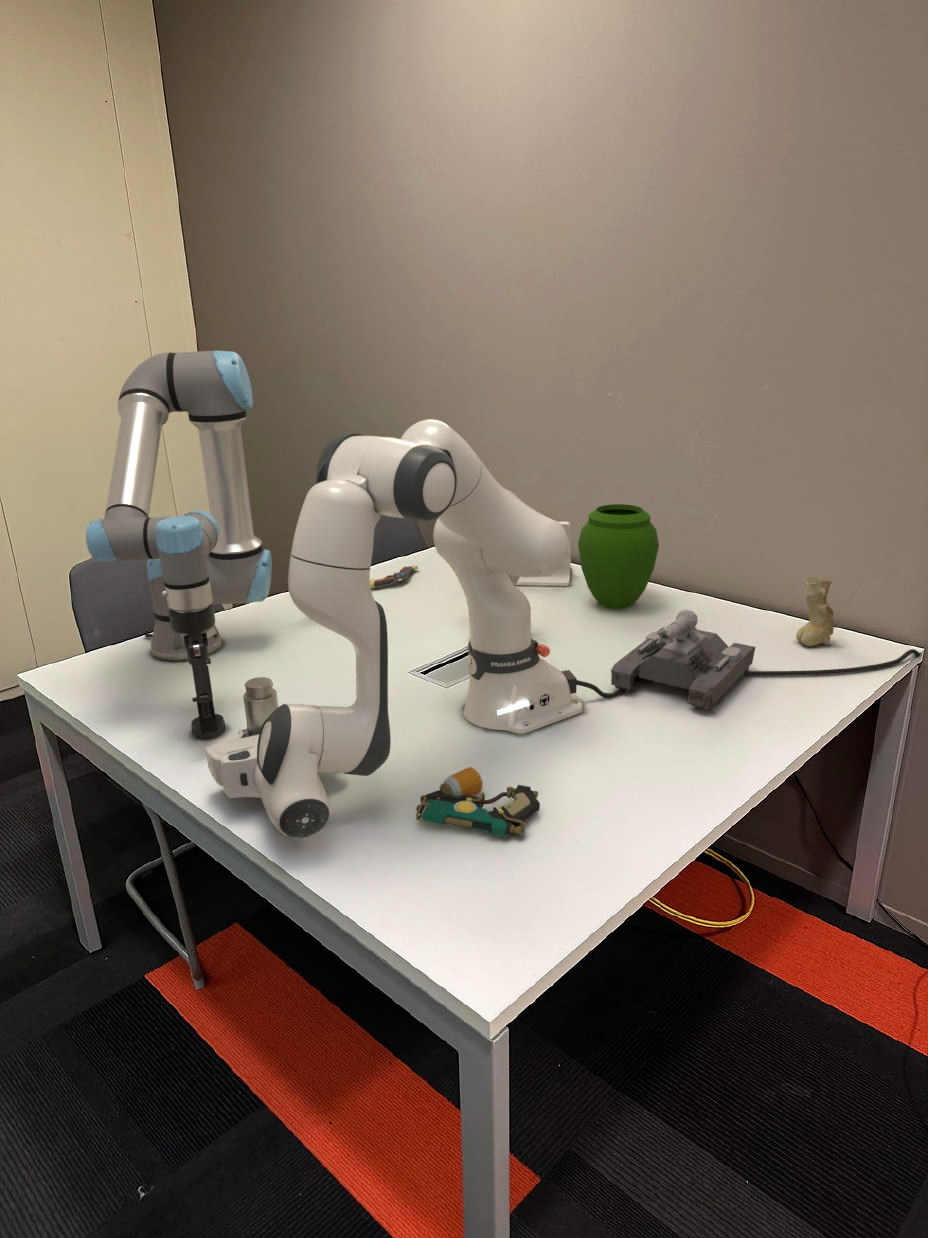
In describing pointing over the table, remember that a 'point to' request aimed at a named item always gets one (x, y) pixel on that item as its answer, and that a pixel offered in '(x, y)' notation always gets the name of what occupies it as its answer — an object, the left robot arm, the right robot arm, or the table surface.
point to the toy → (685, 662)
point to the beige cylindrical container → (259, 703)
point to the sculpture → (817, 613)
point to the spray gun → (477, 805)
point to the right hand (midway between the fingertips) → (263, 729)
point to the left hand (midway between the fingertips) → (207, 714)
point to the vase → (618, 554)
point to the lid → (198, 734)
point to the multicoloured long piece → (393, 577)
